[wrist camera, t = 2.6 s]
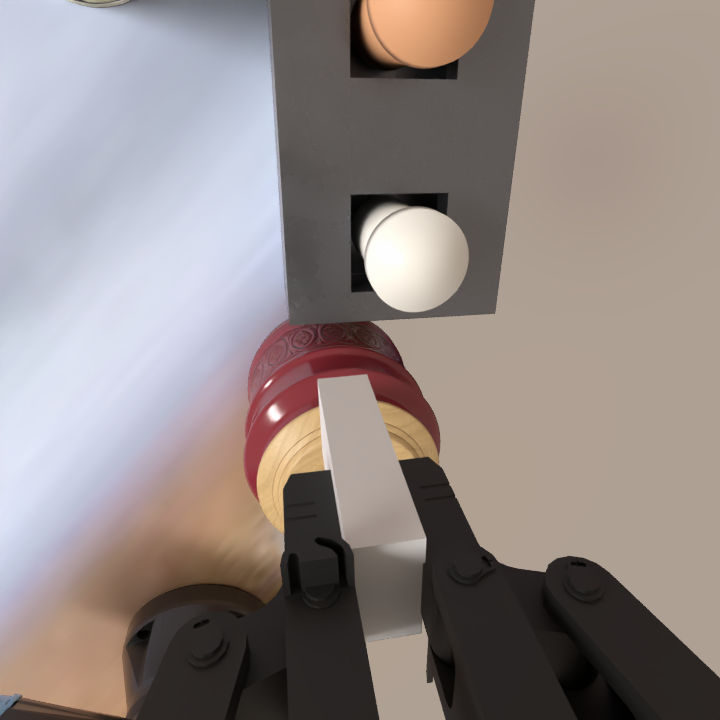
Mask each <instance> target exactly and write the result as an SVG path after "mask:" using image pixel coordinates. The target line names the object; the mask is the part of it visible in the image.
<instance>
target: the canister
mask: <svg viewBox="0 0 720 720" xmlns="http://www.w3.org/2000/svg"><path fill="white" fill-rule="evenodd" d="M365 374H367V376H368V379H369V381H370V384H371V387H372V390H373V392H374V395H375V398H376V401H377V403H378V406H379V409H380V412H381V414H382V417H383V420H384V423H385V425H386V428H387V431H388V434H389V436H390V439H391V442H392V445H393V448H394V450H395V453H396V456H397V459H398V460H404V459H413V458H421V457H429V458H431V459H432V460H433V461H434V462H435V463H437V464H438V465H439V452H440V432H439V426H438V423H437V420H436V417H435V415H434V412H433V410H432V409H431V407H430V405H429V404H428V403H427V401H426V400H425V399H424V398H423V395H422V393H421V390H420V388H419V386H418V384H417V382H416V381H415V380H414V378H413V377H412V376H411V374H410V373H409V372H408V371H407V370H406V369H405V367H404V365H403V361H402V358H401V356H400V354H399V352H398V350H397V348H396V347H395V345H394V343H393V342H392V340H391V339H390V338H389V337H388V335H387V334H385V332H384V331H383V330H381V329H380V328H379V327H378V326H376V325H375V324H374V323H372V322H370V321H360V322H342V323H325V324H308V325H291V326H290V325H289V319H288V320H286V321H285V322H283V323H282V324H280V325H279V326H278V327H277V328H275V329H274V330H273V331H272V332H271V333H270V334H269V335H268V336H267V338H266V339H265V340H264V342H263V343H262V345H261V346H260V348H259V349H258V351H257V353H256V355H255V357H254V359H253V362H252V364H251V368H250V372H249V378H248V398H249V410H248V413H247V417H246V424H245V437H246V443H245V448H244V470H245V475H246V479H247V482H248V484H249V487H250V489H251V491H252V493H253V494H254V496H255V497H256V499H257V500H258V502H259V503H260V504H261V507H262V509H263V511H264V513H265V515H266V516H267V518H268V519H269V521H270V522H271V523H272V524H273V525H274V526H275V527H276V528H277V529H278V530H279V531H280V532H282V533H283V534H284V510H283V509H284V507H283V488H284V486H285V484H286V482H287V480H288V478H289V477H290V475H291V474H297V473H305V472H314V471H322V470H325V467H324V460H323V454H322V440H321V425H320V410H319V396H318V381H317V379H322V378H333V377H343V376H354V375H365Z"/></svg>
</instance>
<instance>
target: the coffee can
mask: <svg viewBox="0 0 720 720" xmlns="http://www.w3.org/2000/svg"><path fill="white" fill-rule="evenodd" d="M67 1H70V2H73V3H76V4H80V5H84V6H90V7H110V6H117V5H120V4H123V3H126V2H129V1H131V0H67Z"/></svg>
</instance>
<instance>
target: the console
mask: <svg viewBox="0 0 720 720" xmlns="http://www.w3.org/2000/svg"><path fill="white" fill-rule="evenodd" d="M355 2H356V0H267V7H268V23H269V40H270V56H271V72H272V88H273V104H274V120H275V136H276V152H277V168H278V185H279V201H280V217H281V233H282V249H283V265H284V281H285V293H286V301H287V309H288V317H289V325H290V326H291V325H308V324H325V323H342V322H360V321H376V320H394V319H410V318H428V317H445V316H461V315H478V314H495V310H496V302H497V295H498V286H499V279H500V271H501V262H502V255H503V247H504V239H505V231H506V224H507V215H508V208H509V200H510V191H511V184H512V175H513V168H514V160H515V152H516V145H517V137H518V129H519V121H520V113H521V105H522V97H523V89H524V82H525V74H526V66H527V58H528V50H529V42H530V34H531V25H532V18H533V11H534V3H535V0H494V3H493V8H492V12H491V15H490V18H489V21H488V24H487V26H486V28H485V30H484V32H483V33H482V35H481V36H480V38H479V40H478V41H477V42H476V43H475V45H474V46H473V47H472V48H471V49H470V50H469V51H468V52H467V53H466V54H464V55H463V56H461V57H460V58H458V59H457V60H455V61H453V62H450V63H448V64H445V65H442V66H438V67H434V68H428V69H420V68H413V67H409V66H405V67H402V68H400V69H397V70H393V71H382V70H378V69H376V68H373V67H372V66H370V65H368V64H367V63H366V62H365V61H364V60H363V59H362V58H361V57H360V55H359V54H358V53H357V51H356V49H355V47H354V44H353V41H352V38H351V32H350V19H351V13H352V9H353V6H354V4H355ZM378 196H391V197H395V198H397V199H399V200H401V201H403V202H404V203H406V204H408V205H409V206H411V207H412V206H423V207H428V208H431V209H434V210H436V211H438V212H440V213H442V214H444V215H446V216H448V217H449V218H450V219H452V220H453V221H454V222H455V223H456V224H457V225H458V226H459V228H460V229H461V230H462V232H463V234H464V236H465V238H466V241H467V245H468V251H469V262H468V268H467V271H466V275H465V277H464V279H463V281H462V283H461V285H460V287H459V288H458V289H457V291H456V292H455V293H454V294H453V295H452V296H451V297H450V298H449V299H448V300H447V301H445V302H444V303H442V304H441V305H439V306H437V307H435V308H433V309H430V310H427V311H423V312H405V311H401V310H398V309H395V308H393V307H391V306H389V305H388V304H386V303H385V302H384V301H383V300H382V299H381V298H380V297H379V296H378V295H377V293H376V292H375V290H374V289H373V287H372V286H371V284H370V282H369V280H368V278H367V275H366V272H365V267H364V259H363V258H362V256H361V255H360V254H359V252H358V251H357V249H356V248H355V246H354V244H353V241H352V237H351V224H352V220H353V217H354V215H355V213H356V212H357V210H358V209H359V208H360V206H361V205H363V204H364V203H365V202H366V201H368V200H370V199H372V198H374V197H378Z"/></svg>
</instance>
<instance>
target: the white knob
mask: <svg viewBox="0 0 720 720" xmlns="http://www.w3.org/2000/svg"><path fill="white" fill-rule="evenodd" d="M351 237H352V241H353V244H354V246H355V248H356V249H357V251H358V252H359V254H360V255H361V256H362V258H363V259H364V267H365V272H366V275H367V278H368V280H369V282H370V284H371V286H372V287H373V289H374V290H375V292H376V293H377V295H378V296H379V297H380V298H381V299H382V300H383V301H384V302H385V303H386V304H388V305H389V306H391V307H393V308H395V309H398V310H401V311H405V312H423V311H427V310H430V309H433V308H435V307H437V306H439V305H441V304H442V303H444V302H445V301H447V300H448V299H449V298H450V297H451V296H452V295H453V294H454V293H455V292H456V291H457V289H458V288H459V287H460V285H461V283H462V281H463V279H464V277H465V275H466V271H467V268H468V262H469V251H468V245H467V241H466V238H465V236H464V234H463V232H462V230H461V229H460V228H459V226H458V225H457V224H456V223H455V222H454V221H453V220H452V219H450V218H449V217H448V216H446V215H444V214H442V213H440V212H438V211H436V210H434V209H431V208H428V207H423V206H412V207H411V206H409V205H408V204H406V203H404V202H403V201H401V200H399V199H397V198H395V197H391V196H378V197H374V198H372V199H370V200H368V201H366V202H365V203H364V204H363V205H361V206H360V208H359V209H358V210H357V212H356V213H355V215H354V217H353V220H352V224H351Z"/></svg>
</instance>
